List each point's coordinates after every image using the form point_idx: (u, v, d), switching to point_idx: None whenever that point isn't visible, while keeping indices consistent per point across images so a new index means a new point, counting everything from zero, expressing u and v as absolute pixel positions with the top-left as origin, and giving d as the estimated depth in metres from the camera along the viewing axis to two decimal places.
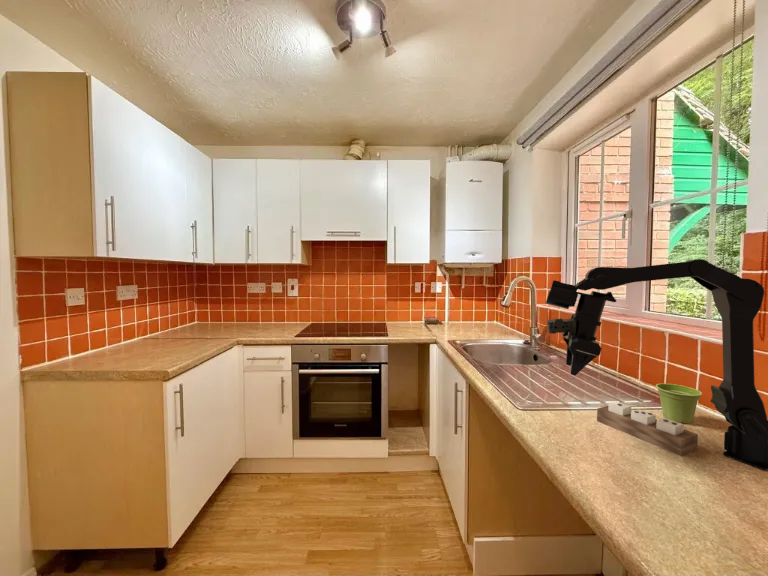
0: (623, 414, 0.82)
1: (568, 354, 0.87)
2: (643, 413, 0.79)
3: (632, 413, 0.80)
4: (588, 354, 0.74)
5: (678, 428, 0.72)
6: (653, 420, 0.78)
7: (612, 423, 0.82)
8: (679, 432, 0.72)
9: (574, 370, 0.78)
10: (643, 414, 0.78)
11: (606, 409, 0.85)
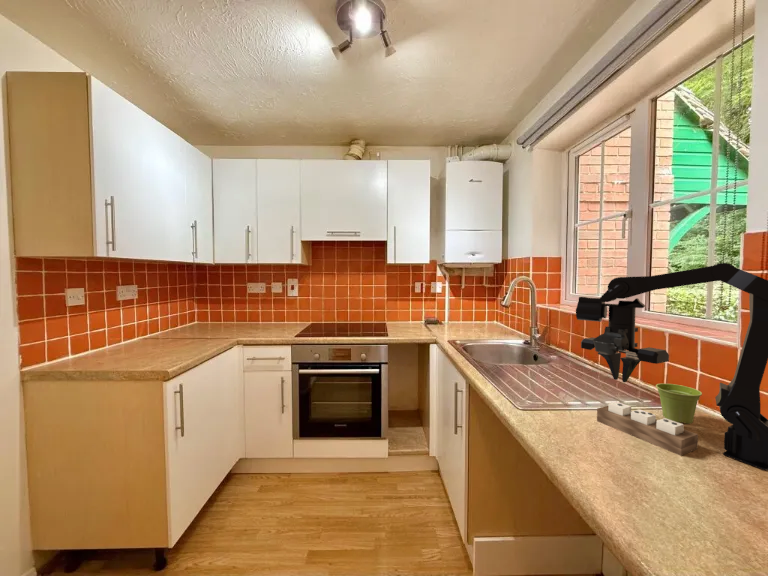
0: (623, 414, 0.82)
1: (614, 369, 0.84)
2: (643, 413, 0.79)
3: (632, 413, 0.80)
4: None
5: (678, 428, 0.72)
6: (653, 420, 0.78)
7: (612, 423, 0.82)
8: (679, 432, 0.72)
9: (626, 377, 0.82)
10: (643, 414, 0.78)
11: (606, 409, 0.85)
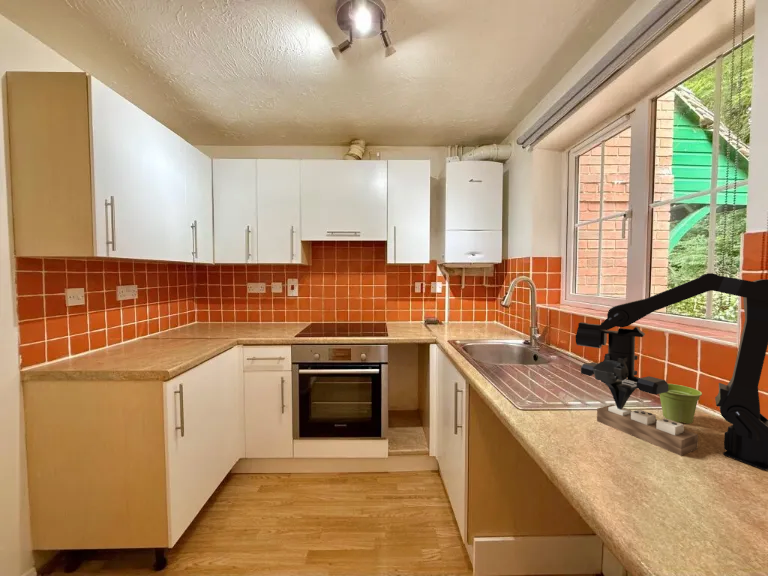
0: None
1: (617, 397, 0.84)
2: (643, 413, 0.79)
3: (632, 413, 0.80)
4: (638, 387, 0.81)
5: (678, 428, 0.72)
6: (653, 420, 0.78)
7: (612, 423, 0.82)
8: (679, 432, 0.72)
9: (623, 404, 0.83)
10: (643, 414, 0.78)
11: (606, 409, 0.85)
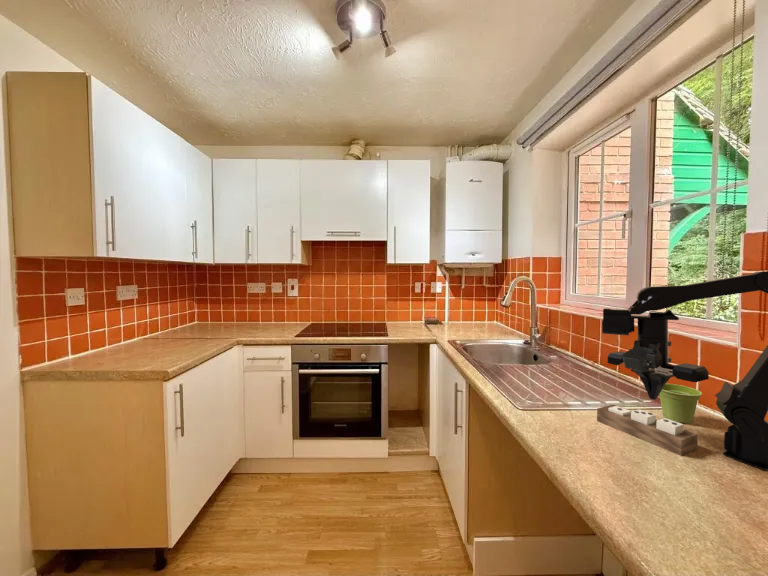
0: None
1: (650, 387, 0.77)
2: (643, 413, 0.79)
3: (632, 413, 0.80)
4: (673, 375, 0.74)
5: (678, 428, 0.72)
6: (653, 420, 0.78)
7: (612, 423, 0.82)
8: (679, 432, 0.72)
9: (656, 394, 0.76)
10: (643, 414, 0.78)
11: (606, 409, 0.85)
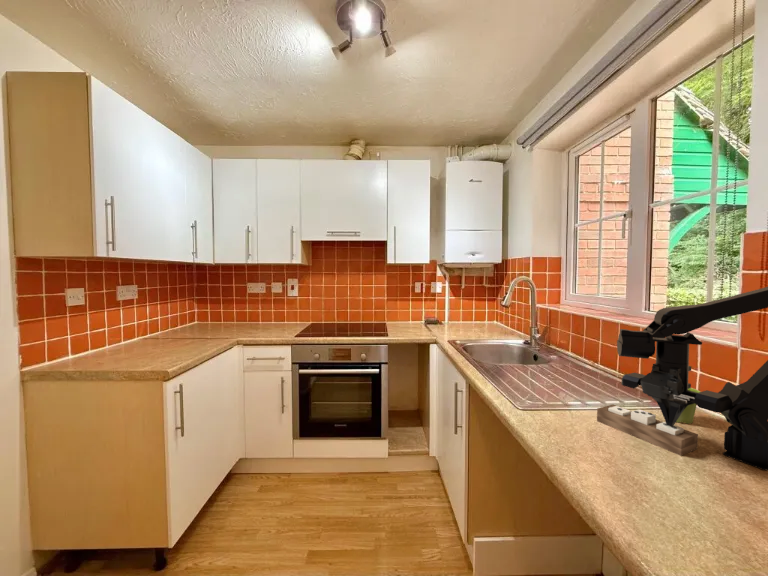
0: None
1: (667, 413, 0.74)
2: (643, 413, 0.79)
3: (632, 413, 0.80)
4: (693, 402, 0.71)
5: (678, 432, 0.72)
6: (653, 420, 0.78)
7: (612, 423, 0.82)
8: None
9: (674, 421, 0.73)
10: (643, 414, 0.78)
11: (606, 409, 0.85)
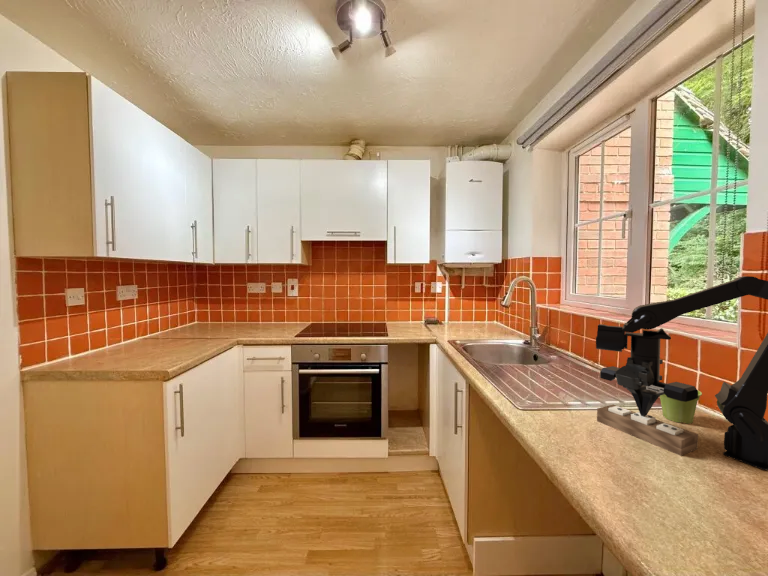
0: None
1: (641, 403, 0.79)
2: (642, 416, 0.79)
3: (632, 416, 0.80)
4: (663, 393, 0.76)
5: (678, 433, 0.72)
6: (653, 423, 0.78)
7: (612, 423, 0.82)
8: None
9: (647, 411, 0.78)
10: (643, 417, 0.78)
11: (606, 409, 0.85)
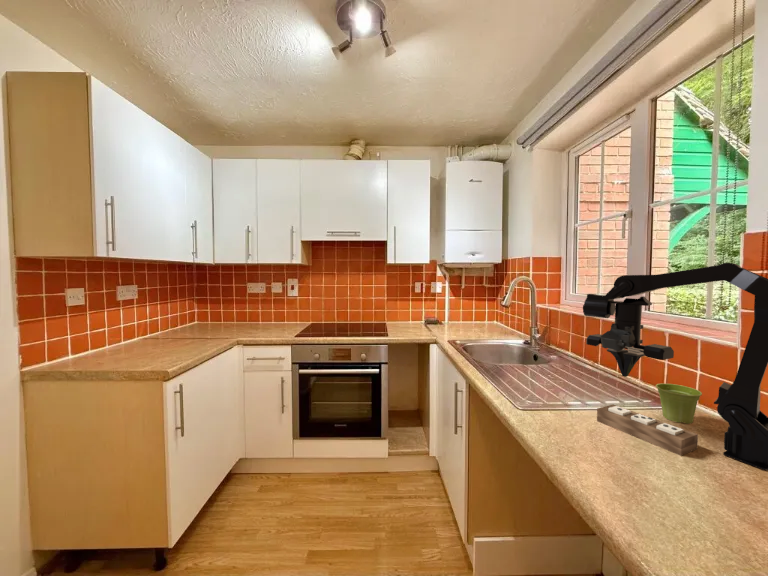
0: None
1: (623, 365, 0.86)
2: (642, 418, 0.79)
3: (632, 418, 0.80)
4: (643, 354, 0.83)
5: (678, 433, 0.72)
6: None
7: (612, 423, 0.82)
8: None
9: (628, 372, 0.85)
10: (643, 419, 0.78)
11: (606, 409, 0.85)
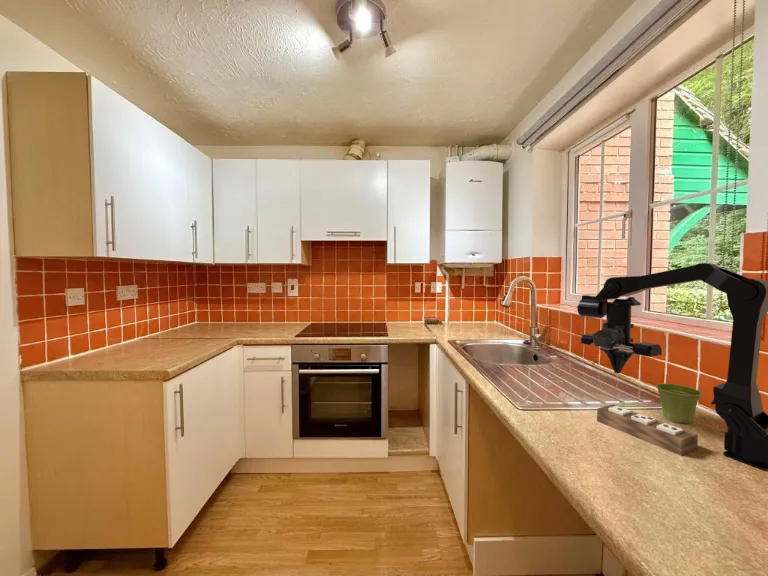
0: None
1: (615, 363, 0.90)
2: (642, 418, 0.79)
3: (632, 418, 0.80)
4: (634, 352, 0.87)
5: (678, 433, 0.72)
6: None
7: (612, 423, 0.82)
8: None
9: (620, 369, 0.90)
10: (643, 419, 0.78)
11: (606, 409, 0.85)
